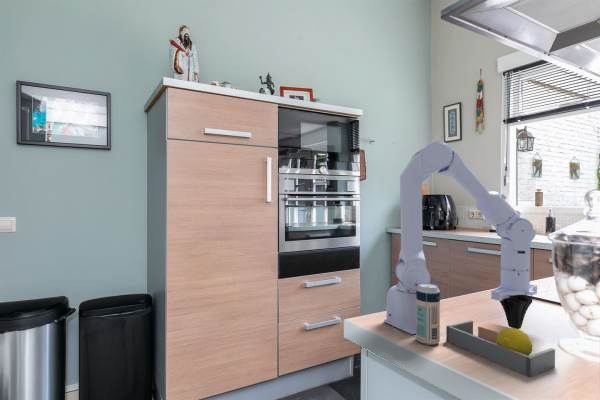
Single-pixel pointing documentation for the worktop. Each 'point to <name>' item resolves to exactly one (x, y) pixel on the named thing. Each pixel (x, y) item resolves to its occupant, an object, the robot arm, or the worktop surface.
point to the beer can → (428, 314)
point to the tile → (490, 331)
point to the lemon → (515, 340)
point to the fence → (499, 351)
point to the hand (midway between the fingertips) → (514, 327)
